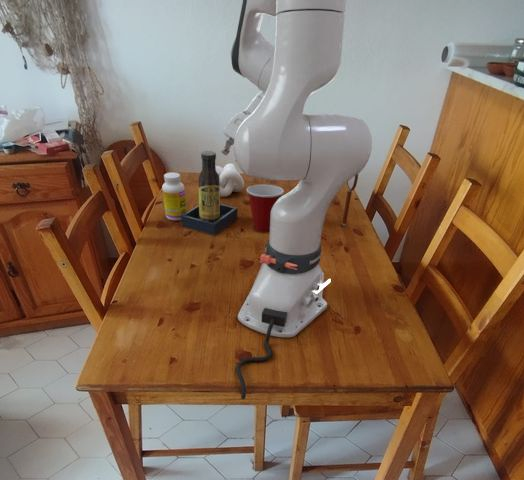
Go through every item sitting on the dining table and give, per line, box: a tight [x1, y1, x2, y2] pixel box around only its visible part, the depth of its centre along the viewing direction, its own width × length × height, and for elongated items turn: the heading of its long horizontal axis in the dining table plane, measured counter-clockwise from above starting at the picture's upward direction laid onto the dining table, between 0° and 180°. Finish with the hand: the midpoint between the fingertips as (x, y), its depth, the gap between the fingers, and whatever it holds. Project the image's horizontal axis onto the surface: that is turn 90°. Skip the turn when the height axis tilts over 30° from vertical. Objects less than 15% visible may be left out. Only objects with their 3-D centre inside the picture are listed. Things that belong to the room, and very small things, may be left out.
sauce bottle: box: [198, 150, 221, 223], centre depth 121 cm, size 7×6×20 cm
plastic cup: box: [246, 184, 285, 233], centre depth 122 cm, size 11×11×12 cm
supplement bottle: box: [161, 171, 188, 222], centre depth 126 cm, size 7×7×13 cm
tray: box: [181, 203, 238, 236], centre depth 127 cm, size 14×12×3 cm
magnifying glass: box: [342, 173, 359, 227], centre depth 123 cm, size 9×2×20 cm, turn 4°
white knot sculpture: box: [215, 162, 245, 198], centre depth 143 cm, size 11×12×9 cm
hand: (230, 158), depth 119 cm, fingers open, 8 cm apart
